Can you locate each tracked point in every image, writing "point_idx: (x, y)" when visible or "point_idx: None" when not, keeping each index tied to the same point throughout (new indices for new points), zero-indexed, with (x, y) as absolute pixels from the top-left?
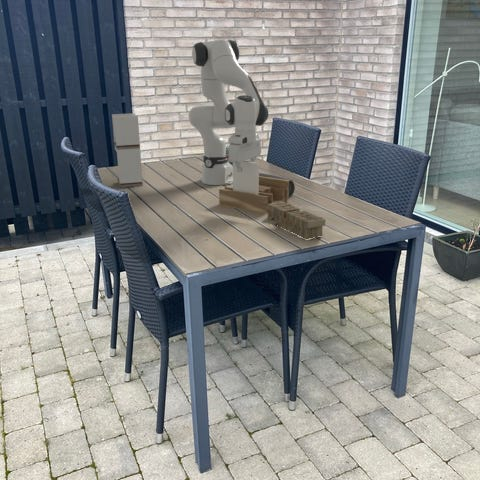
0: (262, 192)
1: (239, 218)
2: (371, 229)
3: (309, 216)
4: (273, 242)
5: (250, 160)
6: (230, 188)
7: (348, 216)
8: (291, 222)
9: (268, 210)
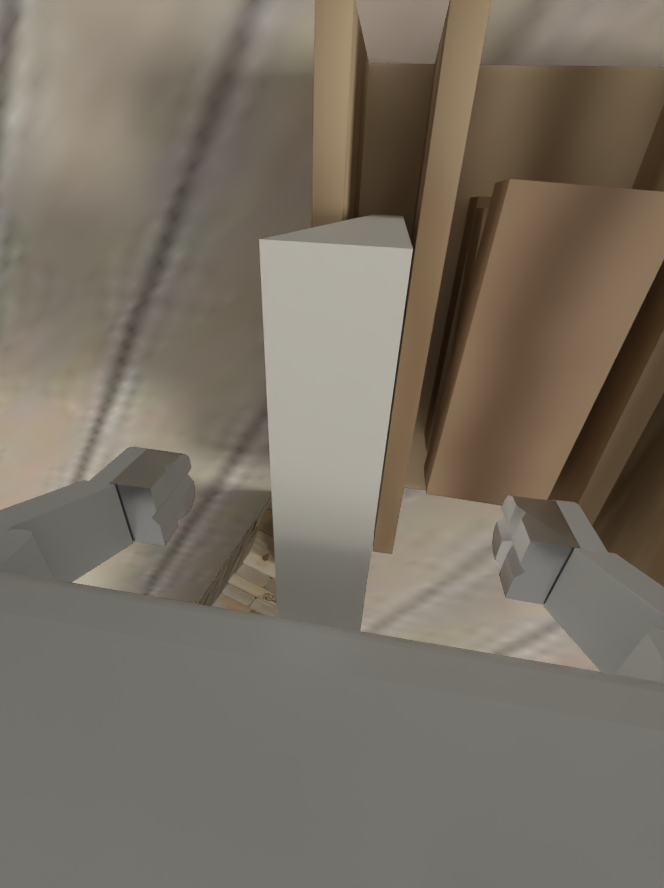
0: (426, 477)
1: (227, 359)
2: None
3: None
4: (106, 565)
5: (632, 595)
6: (432, 126)
7: None
8: None
9: (257, 530)
